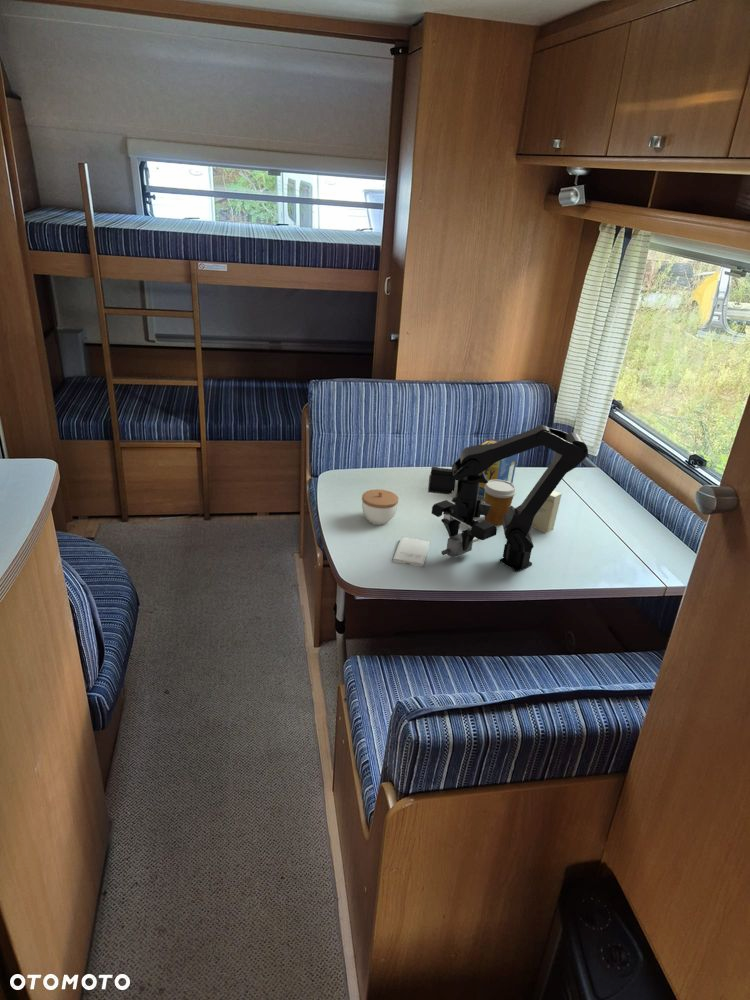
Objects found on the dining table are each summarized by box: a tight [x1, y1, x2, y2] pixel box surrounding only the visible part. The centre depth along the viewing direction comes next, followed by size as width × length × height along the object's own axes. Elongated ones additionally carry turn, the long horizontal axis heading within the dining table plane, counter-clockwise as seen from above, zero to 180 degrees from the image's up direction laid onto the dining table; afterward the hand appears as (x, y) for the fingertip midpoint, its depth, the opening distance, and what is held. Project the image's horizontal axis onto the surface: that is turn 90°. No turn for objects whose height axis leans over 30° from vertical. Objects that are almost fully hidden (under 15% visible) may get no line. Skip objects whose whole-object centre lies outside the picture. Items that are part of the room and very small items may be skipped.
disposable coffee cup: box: [484, 479, 517, 526], centre depth 197 cm, size 10×10×12 cm
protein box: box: [478, 438, 518, 500], centre depth 217 cm, size 10×15×16 cm
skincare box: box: [531, 489, 563, 533], centre depth 195 cm, size 6×4×12 cm
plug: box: [440, 532, 480, 558], centre depth 176 cm, size 13×4×4 cm, turn 130°
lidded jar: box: [361, 488, 399, 526], centre depth 193 cm, size 11×11×9 cm
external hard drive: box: [392, 536, 431, 567], centre depth 178 cm, size 2×8×12 cm
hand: (459, 547), depth 176 cm, fingers closed on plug, 4 cm apart
